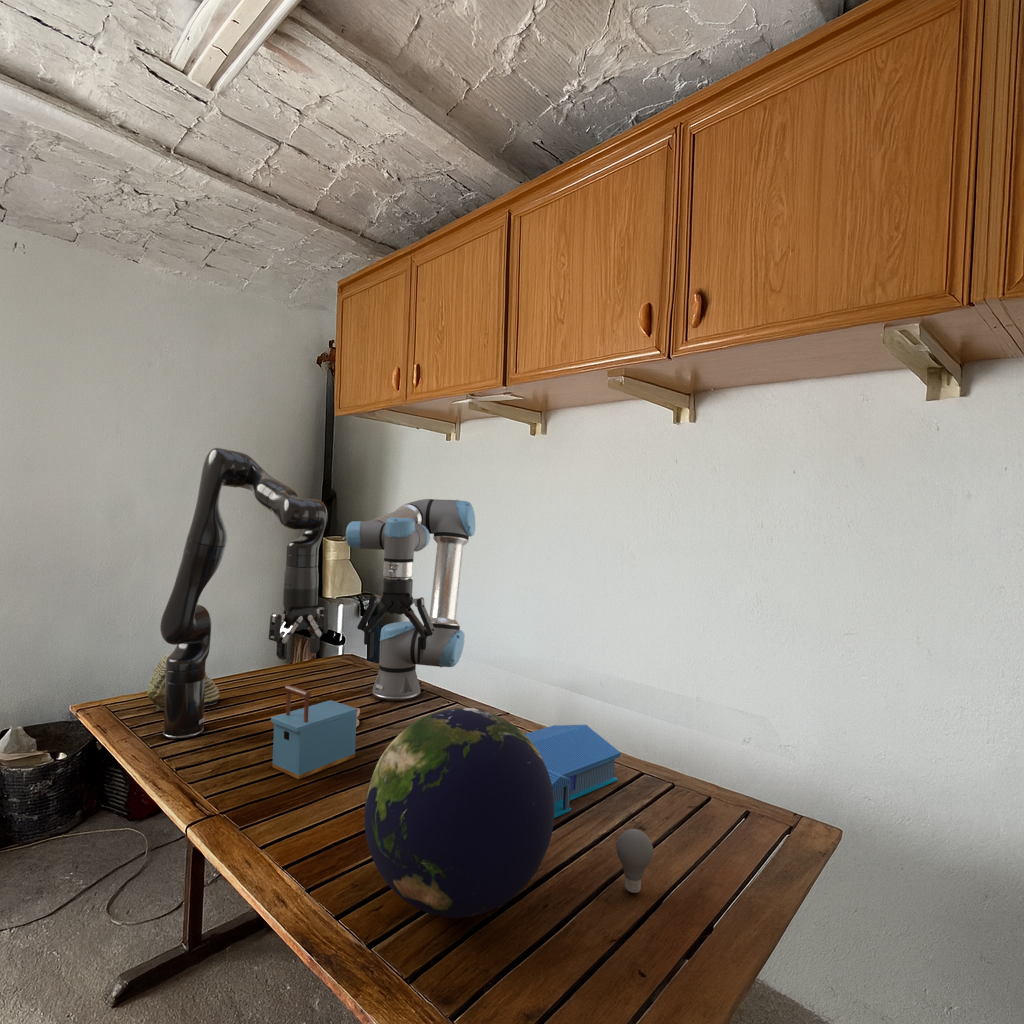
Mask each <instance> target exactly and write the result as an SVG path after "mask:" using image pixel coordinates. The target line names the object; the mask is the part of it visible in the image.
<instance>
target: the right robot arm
mask: <svg viewBox="0 0 1024 1024" xmlns="http://www.w3.org/2000/svg"><path fill="white" fill-rule="evenodd" d="M475 532H476V515H475V511H474V507H473V504H471V502H470V501H467V500H460V499H438V498H437V499H435V498H434V499H433V498H423V499H418V500H414V501H410V502H407V503H404V504H402V505H399V506H398V507H397V508H396V509H395V511H392V512H389V513H386V514H384V515H382V516H379V517H375V518H373V519H370V520H367V521H362V520H359V521H357V520H356V521H355V520H354V521H353V520H352V521H350V522H349V523H348V524H347V526H346V528H345V541H346V544H347V546H348V547H349V548H351V549H359V550H380V551H381V550H383V573H382V575H383V576H384V578H383V579H382V595H379V594H378V593H374V594H372V595H370V598H369V604H368V606H367V607H366V609H365V610H364V613H363V615H362V617H361V619H360V620H359V622H358V624H357V627H356V628H357V630H360V631H362V632H363V644H364V645H365V646H366V659H368V660H369V659H371V658H373V657H374V653H375V652H374V651H375V631H373V630H374V628H375V627H376V626H377V625H378V624H379V623H380V621H381V620H382V619H383V618H384V617H385V616H386V614H387V613H388V614H389V615H394V614H396V615H404V616H405V617H406V618H407V619H408V621H407V620H406V621H397V622H391V623H388V624H385V625H384V626H383V627H381V629H380V638H379V658H378V659H379V660H378V661H379V662H378V663H379V665H378V666H379V667H378V672H377V676H376V678H375V681H374V684H373V687H372V691H371V692H372V694H371V695H372V697H373V698H375V699H376V700H380V701H385V702H395V703H396V702H406V701H407V702H408V701H411V700H415V699H417V698H419V697H420V696H421V685H422V681H419V678H418V674H417V671H416V670H417V669H416V668H417V665H419V666H429V667H437V668H438V667H439V668H453V667H455V666H457V664H458V663H459V661H460V659H461V657H462V654H463V650H464V647H465V646H464V645H465V632H464V631H463V630H461V624H460V623H459V622H458V620H457V614H458V613H457V612H458V602H459V593H460V583H461V574H462V573H461V572H462V564H463V563H462V562H463V553H464V547H465V545H467V544H468V543H469V539H470V537H471V538H472V537H473V536H474V535H475V534H476V533H475ZM431 535H433V536H432V537H433V538H432V539H433V540H434V541H435V543H436V544H437V545H436V553H435V562H434V571H433V579H432V589H431V600H430V608H429V613H428V610H427V607H426V605H425V598H424V597H418V598H414V597H413V586H414V585H413V584H414V580H413V578H412V577H414V555H415V552H420V551H422V550H424V549H425V548H426V547H427V546H428V545H429V543H430V541H431ZM379 603H381V604H382V605H383V607H382V608H381V609H380V610H379V612H378V613H377V614H376V615H375V616H374V617H373V619H371V617H372V614H373V613H374V611H375V609H376V607H377V605H378V604H379ZM412 605H414V606H415V607H416V609H417V611H418V614H419V616H420V619H421V620H420V619H419V617H418V616H417V615H416V613H415V611H414V610H413V608H412V607H411V606H412ZM370 619H371V621H370V622H369V620H370Z"/></svg>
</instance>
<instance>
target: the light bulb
mask: <svg viewBox="0 0 1024 1024" xmlns="http://www.w3.org/2000/svg"><path fill="white" fill-rule="evenodd" d="M615 849H616V854H617V857H618V859H619V861H620V863H621V865H622V867H623V873H624V874H623V875H624V876H625V878H624V888H625V890H627V891H628V892H630V893H634V894H635V893H639V892H640V891H641V889H642V887H641V886H642V879H643V877H644V875H645V871H646V868H647V867H648V866H649V864H650V863H651V861H652V859H653V855H654V847H653V843H652V841H651V838H649V836H648V835H647V834H646V833H645V832H643V831H642V830H641V829H636V828H629V829H627V830H625V831H623V832H622V833H621V834H620V835H619V837H618V839H617V841H616V847H615Z"/></svg>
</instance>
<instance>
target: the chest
mask: <svg viewBox="0 0 1024 1024" xmlns="http://www.w3.org/2000/svg"><path fill="white" fill-rule="evenodd" d="M356 718H357V714H353V715H350V716H347V717H344V718H340V719H337V720H334V721H331V722H328V723H325V724H322V725H319V726H316V727H313V728H310V729H306V730H303V731H300V732H295V731H292V730H290V729H287V728H285V727H282V726H279V725H277V724H274V723H273V740H272V741H273V742H272V743H273V744H272V763H271V764H272V766H271V767H272V768H273V769H275V770H277V771H280V772H282V773H284V774H286V775H289V776H290V777H293V778H295V779H297V780H301V779H303V778H306V777H308V776H311V775H313V774H316V773H319V772H321V771H323V770H326V769H328V768H332V767H334V766H336V765H338V764H342V763H343V762H346V761H349V760H352V759H354V758H356V741H357V739H356V738H357V727H356ZM357 719H358V718H357Z"/></svg>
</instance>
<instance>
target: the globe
mask: <svg viewBox="0 0 1024 1024" xmlns="http://www.w3.org/2000/svg"><path fill="white" fill-rule="evenodd" d="M525 734H526V733H524V732H523V731H522V730H521V729H520V728H519V727H517V726H516V725H514V724H513V723H512V722H510V721H509V720H507V719H506V718H503V717H501V716H499V715H497V714H495V713H492V712H489V711H487V710H486V711H485V710H482V709H478V708H472V707H463V708H462V707H461V708H449V709H442V710H440V711H437V712H433V713H430V714H428V715H426V716H424V717H422V718H420V719H417V720H416V721H415V722H413V723H412V724H410V725H409V726H407V727H406V728H405V729H403V730H402V731H401V732H400V733H399V734H398V735H397V736H396V737H395V738H394V739H393V740H392V741H391V742H390V743H389V744H388V746H387V747H386V748H385V750H384V752H382V754H381V755H380V757H379V759H378V761H377V763H376V765H375V767H374V770H373V772H372V774H371V777H370V781H369V784H368V787H367V791H366V795H365V800H364V801H365V803H364V811H363V814H364V830H365V831H364V832H365V838H366V842H367V846H368V850H369V853H370V856H371V859H372V861H373V863H374V865H375V868H376V869H377V871H378V872H379V875H380V876H381V877H382V879H383V880H384V882H385V883H386V884H387V885H388V887H389V888H390V889H391V890H392V891H393V892H394V893H395V894H396V895H397V896H398V897H399V898H401V900H403V901H405V902H406V903H407V904H409V905H410V906H412V907H414V908H415V909H417V910H419V911H421V912H425V913H426V914H429V915H433V916H437V917H440V918H441V917H442V918H451V919H460V918H461V919H462V918H470V917H475V916H479V915H482V914H486V913H489V912H491V911H493V910H495V909H497V908H499V907H501V906H503V905H504V904H506V903H507V902H509V901H510V900H512V899H513V898H514V897H515V896H516V895H518V894H519V893H520V892H521V891H522V890H523V889H524V888H525V887H526V886H527V885H528V884H529V883H530V881H531V880H532V878H533V877H534V876H535V875H536V873H537V871H538V870H539V868H540V866H541V865H542V862H543V861H544V858H545V856H546V854H547V852H548V848H549V846H550V843H551V838H552V835H553V834H552V833H553V830H554V822H555V818H554V795H553V789H552V784H551V780H550V777H549V773H548V770H547V768H546V766H545V763H544V760H543V758H542V757H541V755H540V753H539V752H538V750H537V748H536V747H535V745H534V744H533V743H532V742H531V741H530V739H529V738H528V737H527V736H526V735H525Z"/></svg>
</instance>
